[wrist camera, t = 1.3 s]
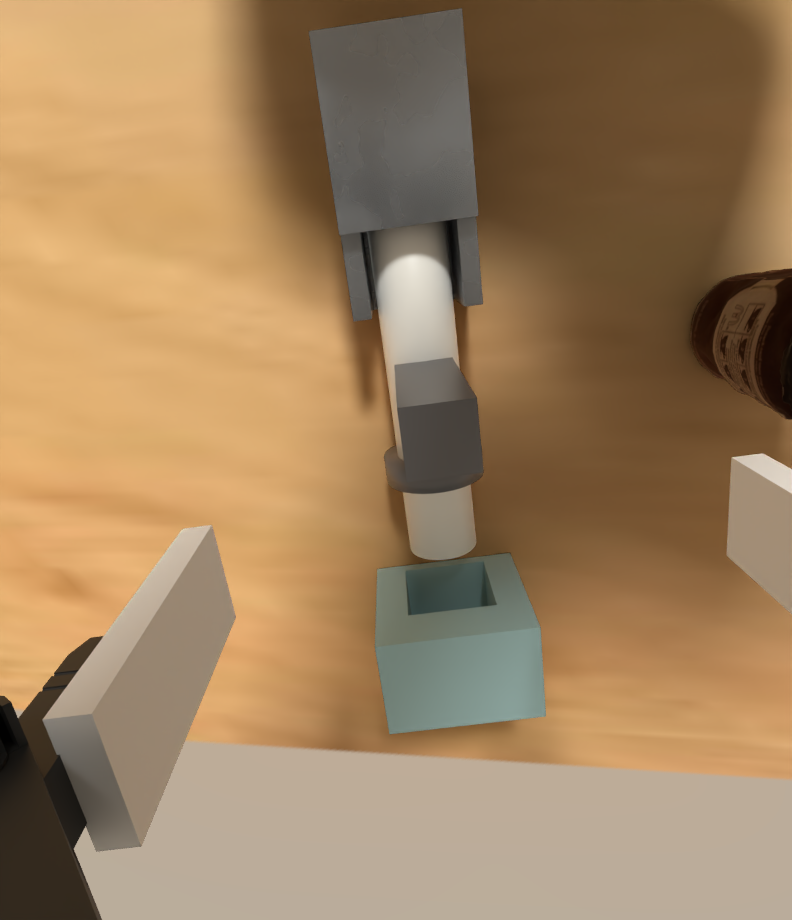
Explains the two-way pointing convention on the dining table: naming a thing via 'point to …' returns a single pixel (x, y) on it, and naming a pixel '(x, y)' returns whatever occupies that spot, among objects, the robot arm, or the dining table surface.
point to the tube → (426, 390)
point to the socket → (457, 644)
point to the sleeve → (399, 141)
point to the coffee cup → (749, 336)
